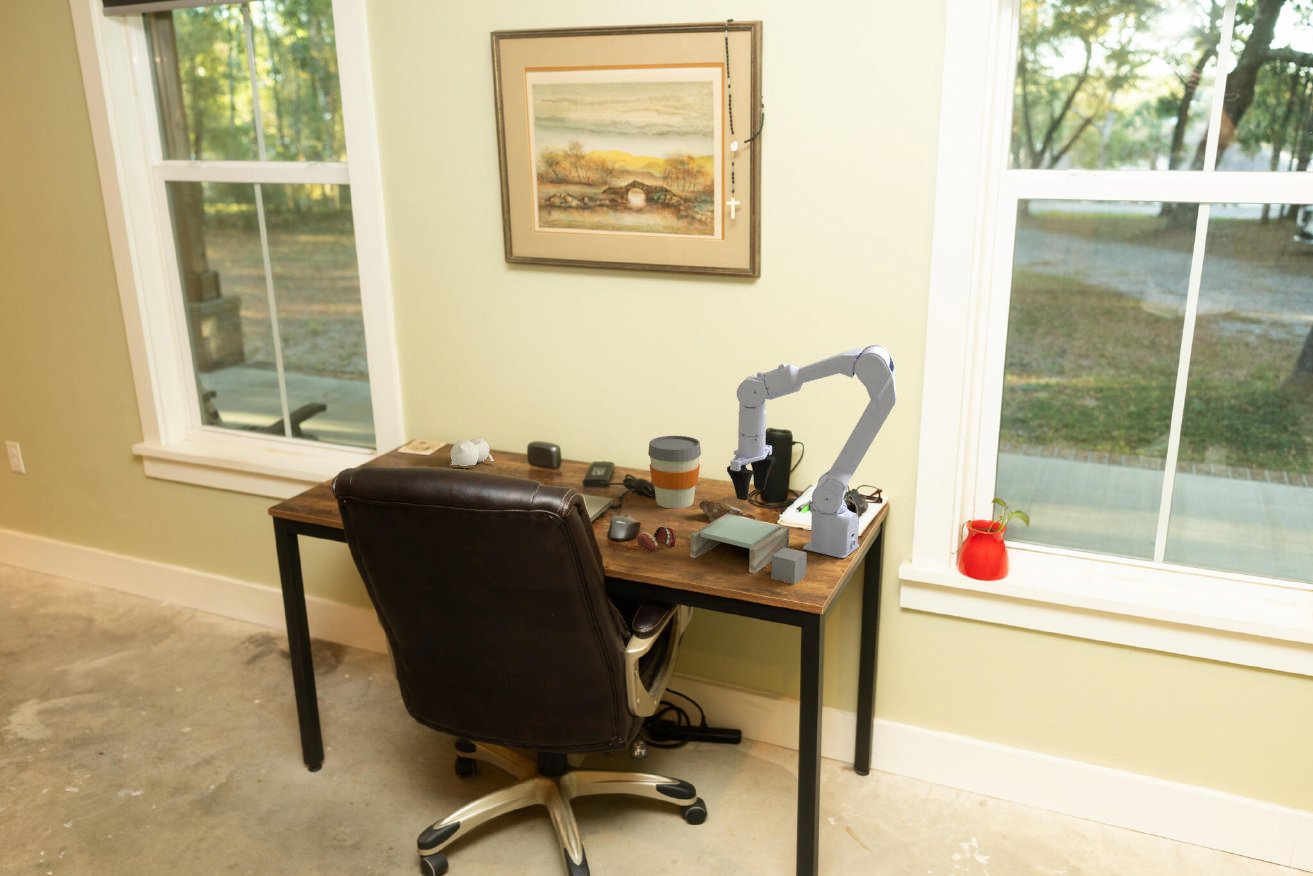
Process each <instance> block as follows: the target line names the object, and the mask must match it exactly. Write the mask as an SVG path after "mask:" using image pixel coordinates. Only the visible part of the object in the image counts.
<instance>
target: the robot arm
mask: <svg viewBox="0 0 1313 876" xmlns="http://www.w3.org/2000/svg"><path fill="white" fill-rule="evenodd" d="M777 367H778V368H776V369H772V370H769V371H764V372H763V371H759V372H757V373H756V375H753V374H752V375H750V376H747V377H745V379H744V380H743V381H742V382H740V384H739V385H738V387H737V389H736V398H737V400H738V402H739V404H738V407H739V409H738V410H739V411H738V430H737V431H738V438H737V439H738V441H737V442H738V443H737V446H738V447H737V449H736V450H733V455H735V456H734V457H733V459H731V460H729V464H730V465H728V466H727V467H726V472H727V474H728V475H729V478H730V479H731V483H732V485H733V488H734V491H735V495H736V499H737V500H740V501H741V500H742V501H747V500H748V497H749V491H750V484H751V479H753V487H754V490H758V491H765V488H766V485H767V481H768V479H769V478H768V477H769V474H770V472H771V470H772V467H773V465H775V463H776V457H774V456H771V455H772V453H773V446H772V445H770V444H769V445H768V444H766V437H767V436H766V433H767V430H766V429H767V427H766V426H767V411H766V405H767V404H766V402H767V401H766V400H769V401H771V400H774V399H778V398H781V397H783V396H787V395H790V394H794V393H797V392H800V390H801V389H802V387H803V385H804V383H805V384H807V383H809V382H812V381H815V380H820V379H823V378H826V377H830V376H831V377H832V376H834V375H839V374H840V375H843V376H845V377H848V378H850V379H851V378H852V379H853V378H854V377H855V375H856V377H857V379H858V380H859V382H861V384H862V385H864V387H865V388H866V392H867V394H868V397H869V399H870V400H869V402H868V404H867V405H866V408H865V409H864V411H863V412H862V414H861V416H860V418H859V419H858V421H857V423H856V425H855V427H854V428H853V430H852V432H851V433H850V435H849V436H848V439H847V440H846V441H845V443H844V445H843V447H842V449H841V450H840V452H839V454H838V456H837V457H836V459H835V461H834V462H833V464H832V466H831V467H830V468H829V470H828V471H826V472H825V473H823V474H822V475H821V476H820V477H819V479H818V481H817V484H816V486H815V488H814V489H813V491H812V494H811V502H812V504H811V522H810V523H811V526H810V527H811V528H810V541H809V542H808V543H806V544H805V545H803V547H802V549H803V550H805V551H811V552H814V553H819V554H822V555H827V556H831V557H836V558H838V559H839V558H840V559H846V558H847V557H848V556H849V555H850V554H851V553H853V552H854V551H856V550H857V549H859V547H860V545H859V526H860V524H859V523H860V520H859V519H860V518H859V514H858V513H855V512H853V511H851V510H849V509H848V505H847V503H846V502H845V500H844V497H845V495H846V493H847V491H848V486H849V483H850V482H851V479H852V477H853V476H854V474H855V472H856V470H857V468H859V465H860V464H861V462H862V460H863V459H864V457H865V456H866V454H867V451H868V450H869V448H870V447H871V445H872V444H873V441H874V440H875V438H876V437H877V435H878V433H879V431H880V430H881V428H882V427H883V425H884V423H885V421H886V420H887V418H888V416H889V415H890V413H891V411H892V409H893V408H894V406H895V405H896V401H897V398H898V394H897V382H896V370H895V369H896V365H895V362H894V360H893V357H892V356H891V353H890V351H889V350H888V349H887V348H886V347H885V346H882V345H880V344H871V345H868V346H866V347H865V348H864V349H863V347H857V348H853V349H851V350H847V351H843V352H840V353H837V354H835V355H832V356H829V357H827V358H824V359H821V360H819V361H815V362H813V363H810V364H807V365H804V366H801V367H797V366H795V365H793V364H788V365H786V363H781V364H779V365H778V366H777ZM749 464H750V466H751V469H748V467H747V466H748V465H749Z"/></svg>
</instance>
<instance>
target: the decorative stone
mask: <svg viewBox="0 0 1313 876" xmlns="http://www.w3.org/2000/svg"><path fill="white" fill-rule="evenodd" d="M698 506H699V508H700V509H701V510H702V512H703V513H704V514H705V516H706V517H707V518H708V520H709V522H710V523H711V522H713V521H715V520H717V519H718V518H720V517H722V516H724V515H725V514H732V515H736V516H741V517H745V518H750V519H754V520H759V519H758V518H756V516H755V515H753V514H751V513H748V512H746V511H743V510H742V509H740V508H738V507H735V506H733V505H731V504H729V503H724V502H720V501H718V500H712V499H706V498H705V499H703V500H701V502H699V504H698Z"/></svg>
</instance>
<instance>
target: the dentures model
mask: <svg viewBox="0 0 1313 876" xmlns="http://www.w3.org/2000/svg"><path fill="white" fill-rule="evenodd" d="M657 541H658V542H660V543H662V542H663V544H664V543H665V546H666V547H668V548H670V547H674V548H675V545H676V533H675V531H674V529H673V528H671V527H665V526H658V527H657V528H656V529H655V532H654V534H653V535H652V534H650V533H649V532H648V531H643V532H642V533H641V534H640V535H638V536H636V542H637V544H638V546H639V545H640V546H639V547H641V548H643V547H644V548H645V549H644V548H643V549H644V550H646V549H647V550H646V551H648V552H649V551H650V553H651V552H654V553H656V552H657V547H658V546H659V544H658V542H657ZM655 551H656V552H655Z"/></svg>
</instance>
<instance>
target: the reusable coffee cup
mask: <svg viewBox="0 0 1313 876" xmlns="http://www.w3.org/2000/svg"><path fill="white" fill-rule="evenodd" d="M701 449H702V448H701V442H700V440H699V439H697V438H694V437H691V436H688V435H687V436H686V435H665V436H658V437H656V438H653V439H651V440H650V441H649V444H648V453H647V455H648V456H649V459H650V464H649V471H650V472H649V473H650V478H651V483H652V484H651V485H653V487H654V494H655V501H656V502H655V503H656V505H658V506H659V507H661V506H662V507H661V508H666V509H684V508H688V507H690V506H692V505H693V504H694V501H695V499H694V498H695V492H696V486H697V485H698V481H699V475H700V469H701V468H700V467H701V465H700V463H699V462H700V457H701V455H702V450H701Z"/></svg>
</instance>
